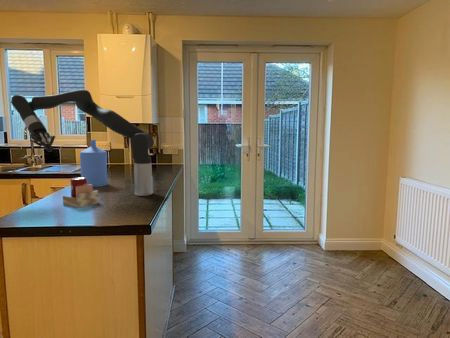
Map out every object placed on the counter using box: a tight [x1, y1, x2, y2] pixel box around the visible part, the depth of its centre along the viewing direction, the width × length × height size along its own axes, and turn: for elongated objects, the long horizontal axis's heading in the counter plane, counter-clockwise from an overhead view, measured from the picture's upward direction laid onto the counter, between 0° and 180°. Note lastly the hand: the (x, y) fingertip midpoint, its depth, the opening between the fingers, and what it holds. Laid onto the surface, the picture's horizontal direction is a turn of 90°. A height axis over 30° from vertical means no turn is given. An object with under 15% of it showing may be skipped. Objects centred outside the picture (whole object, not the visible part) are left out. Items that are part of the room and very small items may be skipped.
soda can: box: [69, 176, 87, 198], centre depth 156 cm, size 7×7×12 cm
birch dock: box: [62, 189, 100, 208], centre depth 156 cm, size 11×11×6 cm
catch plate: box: [76, 184, 94, 198], centre depth 154 cm, size 8×1×9 cm, turn 151°
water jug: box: [79, 139, 109, 188], centre depth 202 cm, size 16×16×28 cm
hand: (50, 150), depth 166 cm, fingers closed
